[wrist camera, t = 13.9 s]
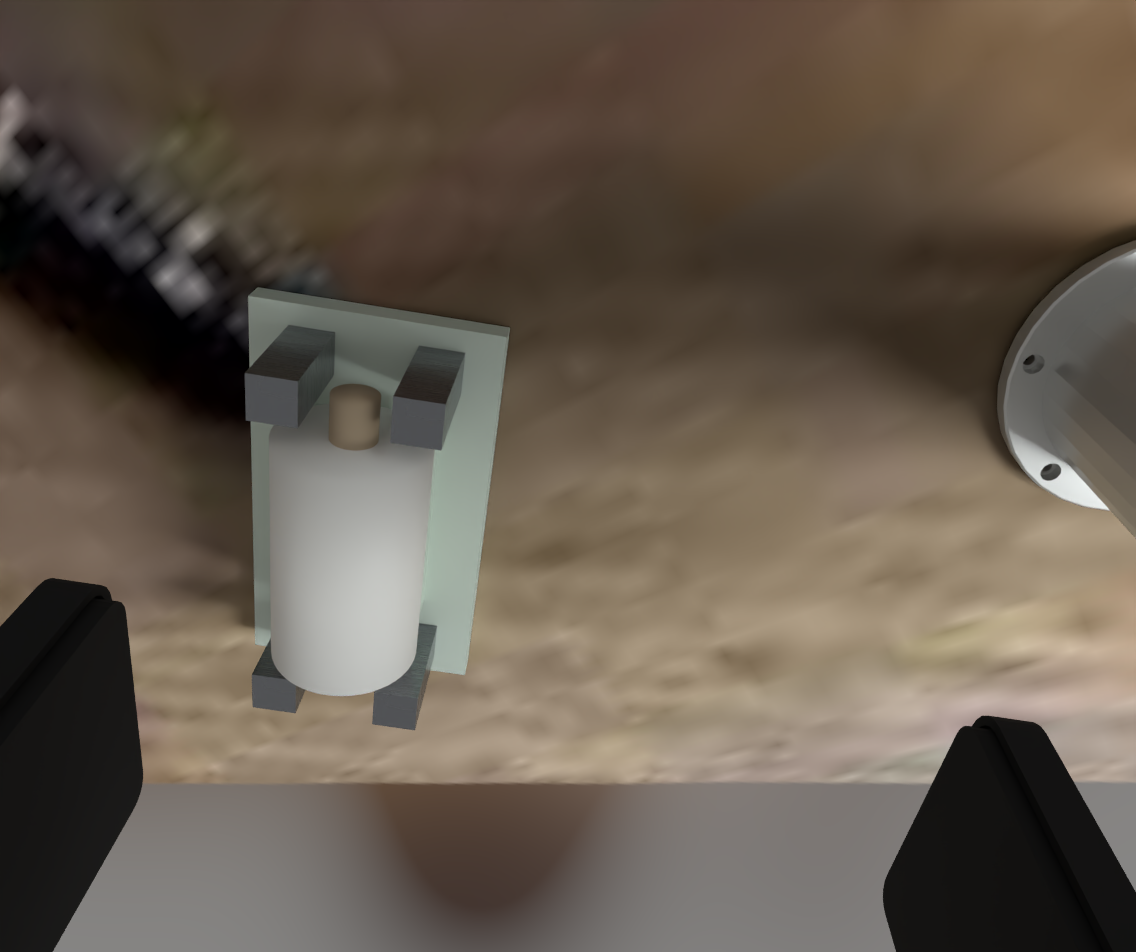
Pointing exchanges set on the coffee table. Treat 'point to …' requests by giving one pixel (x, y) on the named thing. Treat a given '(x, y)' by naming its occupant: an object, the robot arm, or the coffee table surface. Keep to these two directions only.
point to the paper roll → (346, 545)
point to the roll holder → (419, 418)
